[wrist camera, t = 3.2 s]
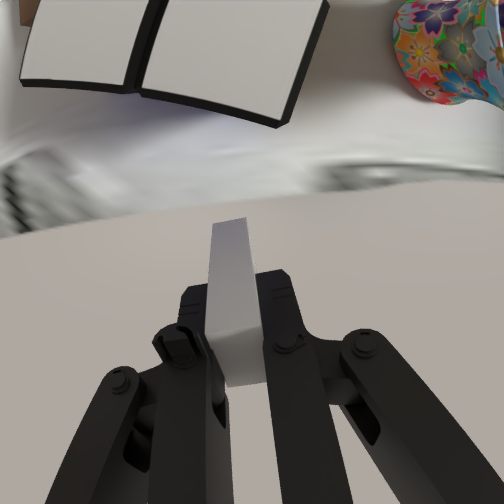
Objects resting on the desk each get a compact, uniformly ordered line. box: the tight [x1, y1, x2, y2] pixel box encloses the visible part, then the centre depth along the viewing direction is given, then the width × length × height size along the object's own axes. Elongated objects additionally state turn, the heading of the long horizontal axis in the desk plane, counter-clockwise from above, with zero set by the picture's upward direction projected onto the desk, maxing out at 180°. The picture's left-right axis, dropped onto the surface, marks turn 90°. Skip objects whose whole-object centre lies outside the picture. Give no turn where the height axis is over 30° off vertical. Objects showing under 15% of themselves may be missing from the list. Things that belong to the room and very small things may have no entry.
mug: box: [392, 0, 504, 110], centre depth 10 cm, size 12×9×11 cm
